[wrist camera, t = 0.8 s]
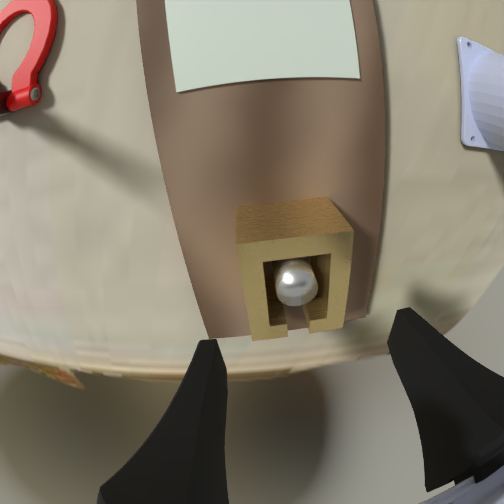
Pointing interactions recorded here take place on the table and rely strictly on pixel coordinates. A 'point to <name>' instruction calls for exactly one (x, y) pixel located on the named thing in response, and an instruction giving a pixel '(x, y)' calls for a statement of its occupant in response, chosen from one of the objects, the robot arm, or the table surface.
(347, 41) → the sage pad
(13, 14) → the tow hook
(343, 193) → the stand board
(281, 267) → the steel post
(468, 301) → the table surface
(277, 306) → the wooden box
